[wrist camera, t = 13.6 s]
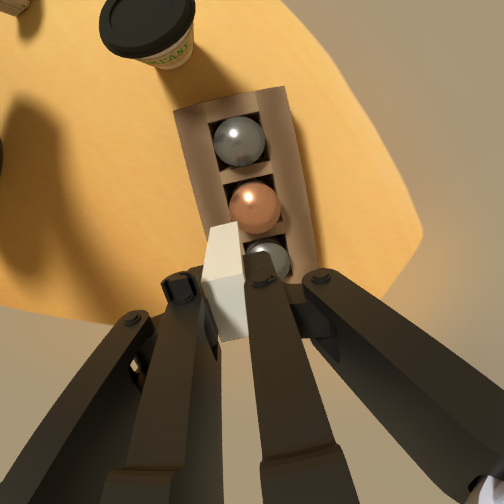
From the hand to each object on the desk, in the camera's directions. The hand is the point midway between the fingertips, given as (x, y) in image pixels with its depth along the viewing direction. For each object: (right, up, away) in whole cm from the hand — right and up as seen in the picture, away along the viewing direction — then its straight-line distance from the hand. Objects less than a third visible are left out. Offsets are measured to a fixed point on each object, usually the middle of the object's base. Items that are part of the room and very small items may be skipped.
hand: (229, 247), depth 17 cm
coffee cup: (-10, +27, +16) cm, 33 cm away
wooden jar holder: (+1, +8, +24) cm, 25 cm away
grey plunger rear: (+3, +1, +26) cm, 26 cm away
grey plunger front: (-1, +14, +21) cm, 25 cm away
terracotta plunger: (+1, +7, +22) cm, 23 cm away
